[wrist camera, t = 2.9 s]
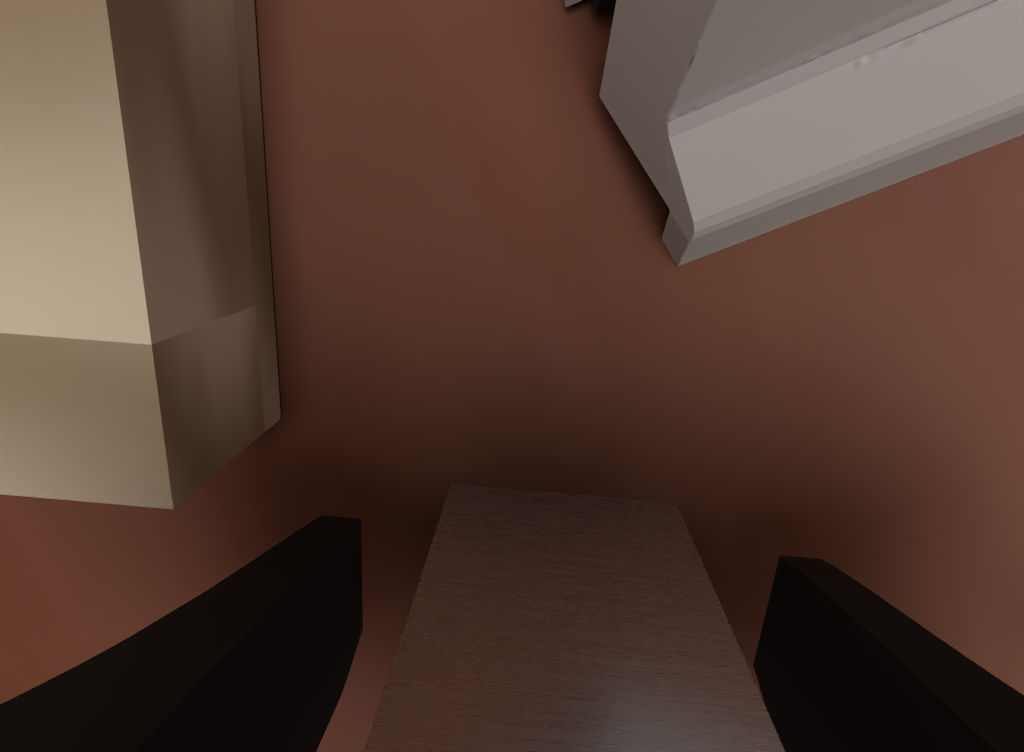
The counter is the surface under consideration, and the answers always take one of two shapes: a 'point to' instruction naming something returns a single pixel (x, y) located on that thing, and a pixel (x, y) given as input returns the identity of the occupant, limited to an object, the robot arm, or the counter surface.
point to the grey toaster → (803, 102)
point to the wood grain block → (567, 635)
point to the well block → (131, 248)
